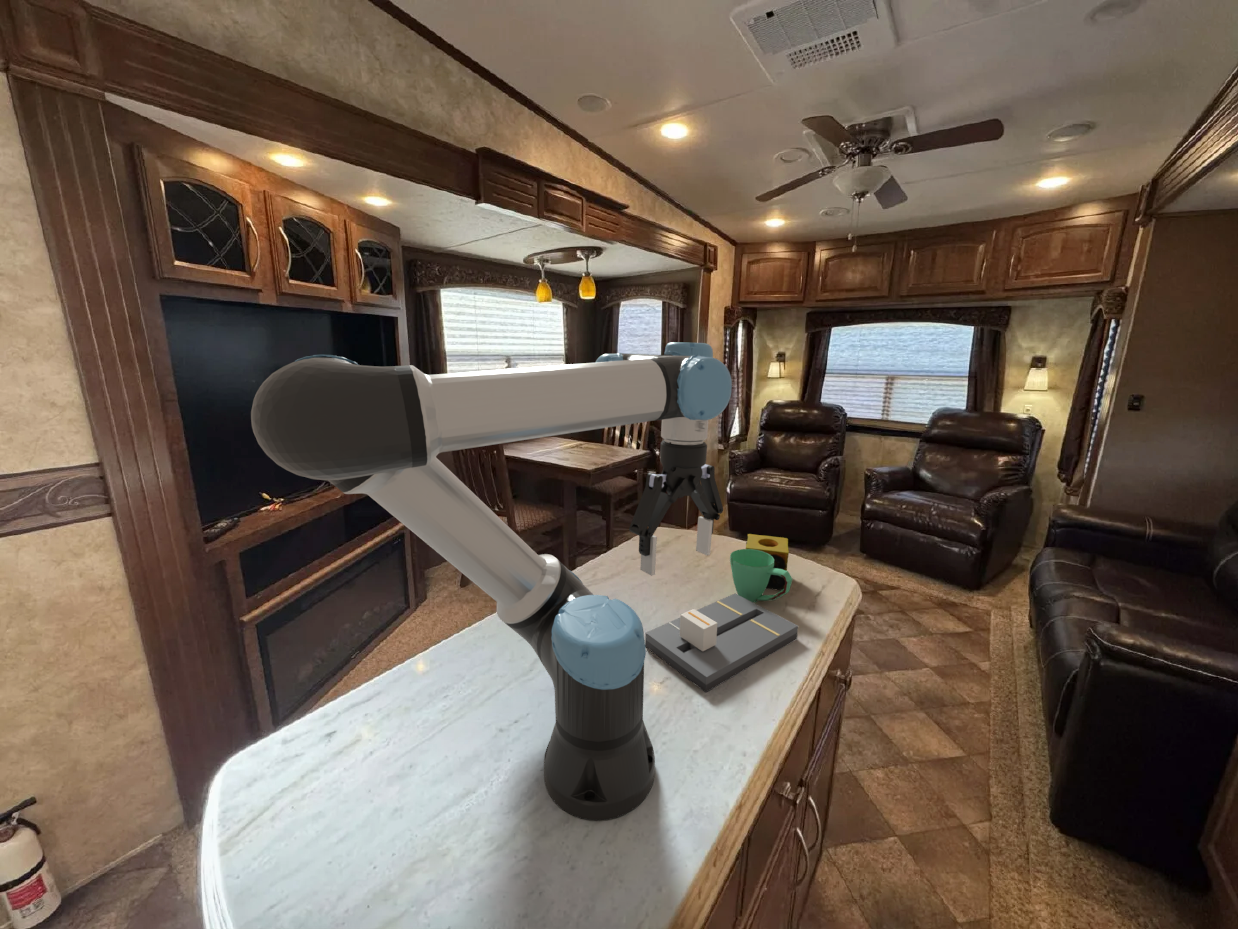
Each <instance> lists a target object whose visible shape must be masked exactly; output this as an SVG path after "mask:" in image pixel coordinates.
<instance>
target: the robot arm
mask: <svg viewBox="0 0 1238 929" xmlns="http://www.w3.org/2000/svg"><path fill="white" fill-rule="evenodd" d="M663 353H664V354H648V353H647V354H646V353H644V354H643V353H642V354H641V353H640V354H639V353H622V352H617V353H604V354H602V355H600V356H599V357H598V358H597V359H596V360H595V362H586V363H573V364H572V363H570V364H569V363H568V364H560V365H559V364H557V365H546V366H545V365H544V366H542V365H541V366H530V367H518V368H504V369H503V368H502V369H490V370H477V371H463V372H452V373H451V372H450V373H439V374H437V373H436V374H426V373H424V372H423V371H422V370H420V369H418V368H417V367H416V366H415V365H414V364H413V365H412V364H411V365H410V364H409V365H408V364H407V365H406V364H405V365H395V366H393V365H392V366H391V365H390V366H374V365H363V364H361V365H360V364H358V362H356V361H353V360H351V359H348V358H346V357H344V356H337V355H333V354H313V355H310V356H307V355H306V356H303V357H301V358H298V359H296V360H294V361H293V362H290V363H288V364H286V365H283V366H282V367H280V368H279V369H277V370H275V371H274V372H272V373H271V374H270V375H269V376H268V377H267V378H266V379H265V380H264V381H263V382H262V383H261V385H260V386H259V387H258V389H257V391H256V393H255V395H254V398H253V401H252V407H251V411H250V420H251V421H250V422H251V429H252V432H253V434H254V437H255V438H256V441H257V444H258V445H259V447H260V448H261V449H262V451H263V452H264V454H265V455H266V456H267V457H268V458H270V460H272V461H273V462H274V463H275V464H276V465H277V466H279V467H281V468H282V469H284V470H286V471H288V472H290V473H292V474H294V475H296V476H299V477H305V478H308V479H311V480H318V481H319V480H321V481H328V482H329V483H331V484H332V485H333V486H334V487H335V488H337V489H338V490H340V492H342V493H343V494H345V495H353V494H354V495H356V494H363V495H367V496H369V497H370V498H371V499H372V500H373V501H375V502H376V503H377V504H378V505H379V506H381V507H382V508H383V509H384V510H386V511H387V513H389V514H390V515H391V516H393V517H394V518H396V520H398V521H399V522H400V523H401V524H403V525H404V526H405V527H406V528H407V529H408V530H410V531H411V532H412V533H413V534H415V535H416V536H417V537H418V538H419V539H421V540H422V541H423V542H424V543H425V544H426V545H428V546H429V547H430V548H431V549H432V550H434V551H435V552H436V553H437V554H438V555H440V556H441V557H442V558H443V559H445V560H446V561H447V562H448V563H449V564H451V566H453V567H454V568H455V569H457V570H458V571H459V572H460V573H461V574H463V575H464V576H465V577H466V578H468V580H470V581H471V582H472V583H473V584H475V585H476V586H478V587H479V588H480V590H482V591H483V592H484V593H485V594H487V595H488V596H489V597H490V598H492V599H493V600H494V601H495V602H496V614H497V617H498V618H499V620H500V621H502V622H503V623H504V624H505V625H506V626H508V627H509V628H510V629H511V630H513V631H514V633H516V634H518V635H519V636H520V637H521V638H522V639H524V640H525V641H526V642H527V643H528V644H529V646H530V647H531V648H532V649H533V651H534V652H535V654H536V656H537V657H538V659H539V661H540V663H541V664H542V665H543V667H544V668H545V670H546V672H547V674H548V675H549V677H550V679H551V681H552V683H553V687H554V688H553V689H554V711H555V712H554V713H555V724H554V725H553V730H552V731H551V732H552V733H551V736H550V738H549V741H548V744H547V746H546V749H545V752H544V757H543V758H544V759H543V778H544V785H545V788H546V791H547V793H548V795H549V796H550V798H551V800H552V801H553V802H554V803H555V804H556V805H557V806H558V807H559V808H560V809H561V810H563V811H564V812H566V813H568V814H569V815H571V816H573V817H577V818H580V819H584V820H589V821H605V820H611V819H616V818H619V817H622V816H624V815H626V814H628V813H629V812H632V811H634V810H635V809H636V808H637V807H638V806H640V805H641V803H642V802H643V801H644V800H645V799H646V798H647V796H648V795H649V793H651V792H650V791H651V789H652V787H653V785H654V784H653V783H654V780H655V774H656V773H655V769H656V764H655V763H656V756H655V751H654V747H653V744H652V741H651V739H650V736H649V733H648V730H647V728H646V724H645V722H644V715H643V714H644V685H645V684H644V680H645V679H644V678H645V660H646V656H647V653H646V652H647V650H646V648H647V647H645V634H644V633H645V632H644V626H643V623H642V621H641V619H640V617H639V615H638V614H637V613H636V611H635V610H634V609H633V608H632V607H631V606H630V605H629V604H626V602H624V601H622V600H620V599H617V598H612V599H610V598H609V596H608V595H601V594H594V593H593V592H591V590H590V589H589V588H587V586H586V585H585V584H584V583H583V581H582V580H581V578H580V577H579V576H577V575H576V574H575V573H574V572H573V571H572V570H570V569H568V568H567V567H566V566H565V565H564V564H563V562H561V561H560V560H559V559H558V558H557V557H555V556H554V555H552V554H548V553H544V554H543V553H542V554H537V552H536V551H535V550H534V549H532V547H530V546H529V544H527V543H526V542H525V541H524V540H523V539H522V538H521V537H520V536H519V535H518V534H517V533H516V532H515V531H513V529H512V528H511V527H509V526H508V524H507V523H505V521H503V520H502V519H501V518H500V517H499V516H498V515H497V514H496V513H495V512H494V511H493V510H492V509H491V508H490V507H488V505H487V504H485V503H484V501H483V500H481V499H480V497H478V496H477V495H476V494H475V493H474V491H472V490H471V489H470V488H468V486H467V485H466V484H465V483H464V482H463V481H461V480H460V479H459V477H458V476H456V475H455V474H454V473H453V472H452V471H451V470H450V469H449V468H448V467H447V466H446V465H445V464H444V463H443V462H441V460H440V459H438V458H437V456H438V455H439V454H441V453H446V452H453V451H459V450H465V449H467V450H468V449H473V448H479V447H480V448H481V447H485V446H486V447H487V446H492V445H498V444H499V445H500V444H506V443H512V442H518V441H524V440H525V441H526V440H534V439H539V438H545V437H552V436H559V435H566V434H567V435H568V434H571V433H572V434H573V433H579V432H586V431H593V430H594V431H595V430H599V429H606V428H613V427H619V426H626V425H627V426H628V425H633V424H640V423H645V422H652V421H661V427H660V428H661V429H660V430H661V431H660V437H661V438H662V441H661V442H660V449H659V450H660V451H659V452H660V453H659V460H660V463H661V466H662V471H661V473H659V474H656V473H652V472H648V473H647V475H646V478H645V479H646V482H645V486H644V487H645V488H644V490H643V492H642V495H641V497H640V500H639V501H638V502H639V503H638V505H637V508H636V509H635V512H634V515H633V517H632V520H631V523H630V525H629V528H628V530H629V532H630V533H632V534H635V535H637V536H638V537H639V538H638V553H639V554H640V568H639V570H640V571H642V572H644V573H646V574H647V575H649V576H654V575H656V565H657V564H656V562H657V545H658V544H657V543H658V542H657V541H658V540H657V538H658V536H656V535H654V534H655V533H656V531H657V529H658V527H659V526H660V524H661V522H662V521H663V519H664V518H665V515H666V514H667V513H668V510H669V509H670V508H671V505H672V504H673V503H676V502H677V500H678V499H682V498H684V497H685V496H687V497H690V498H691V499H692V501H693V503H694V504H695V506H696V507H697V509H698V510H699V512H700V513H701V516H698V517H697V529H696V530H697V532H696V542H695V543H696V544H695V551H696V552H698V553H700V554H702V555H705V556H710V555H711V546H712V536H713V533H714V523H715V522H714V521H719V520H720V518H721V515H720V514H722V513H724V506H723V503H722V500H721V495H720V493H719V489H718V486H717V481H716V477H715V476H716V475H715V466H714V465H710V464H706V463H707V454H708V453H707V452H708V444H707V443H706V442H705V441H706V440H707V439H708V432H709V420H712V419H715V418H716V417H718V416H719V415H720V414H722V413H723V411H724V410H725V409H726V408H727V406H728V404H729V403H730V400H731V397H732V396H731V395H732V388H733V387H732V386H733V385H732V382H733V381H732V377H731V372H730V371H729V368H728V367H727V366H726V365H725V364H724V363H723V362H722V361H721V360H719V359H718V358H715V357H714V352H713V347H712V346H711V345H710V344H709V343H705V342H679V341H677V342H676V341H675V342H674V341H673V342H668V343H667V344H666V345H665V349H664V352H663Z"/></svg>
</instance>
